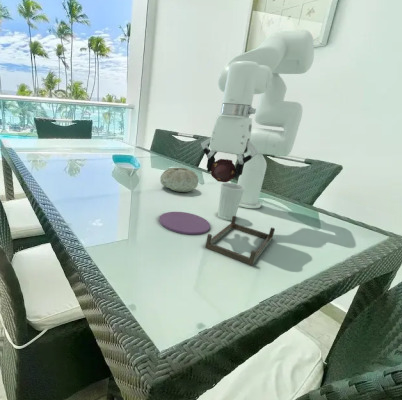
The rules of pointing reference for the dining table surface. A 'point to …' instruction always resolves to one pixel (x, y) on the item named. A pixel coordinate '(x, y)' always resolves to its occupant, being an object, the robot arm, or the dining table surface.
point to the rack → (235, 255)
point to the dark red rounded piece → (223, 170)
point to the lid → (184, 223)
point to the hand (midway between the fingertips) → (223, 173)
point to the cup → (229, 200)
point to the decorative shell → (179, 179)
